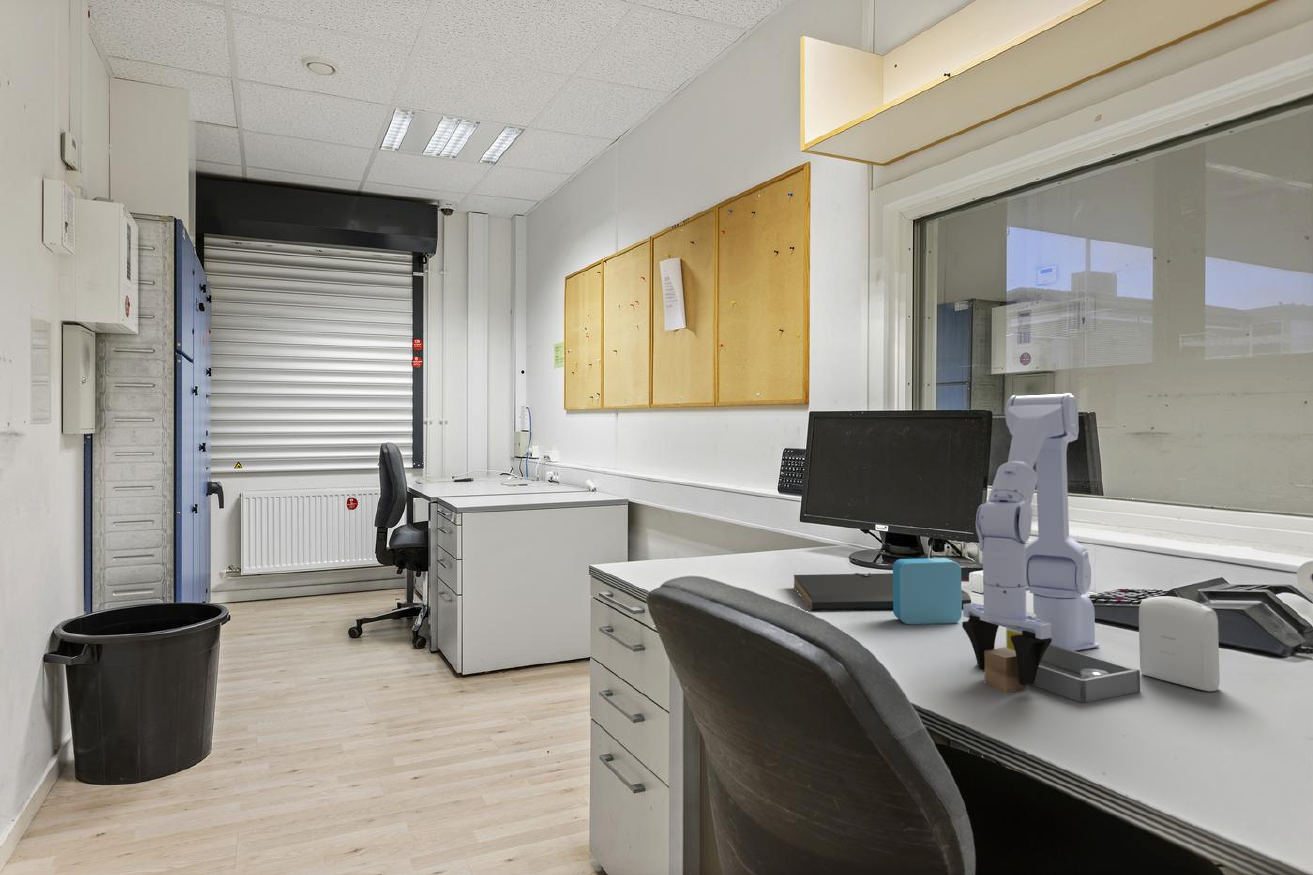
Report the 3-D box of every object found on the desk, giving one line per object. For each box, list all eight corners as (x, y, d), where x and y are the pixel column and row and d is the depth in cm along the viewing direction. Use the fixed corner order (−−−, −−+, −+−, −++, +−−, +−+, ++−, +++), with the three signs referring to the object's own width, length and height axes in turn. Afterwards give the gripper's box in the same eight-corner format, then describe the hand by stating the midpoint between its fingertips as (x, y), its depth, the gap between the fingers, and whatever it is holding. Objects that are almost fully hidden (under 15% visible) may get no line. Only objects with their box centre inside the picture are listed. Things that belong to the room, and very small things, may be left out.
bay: (1029, 655, 128) (1029, 637, 128) (1140, 691, 110) (1139, 670, 110) (977, 664, 124) (976, 645, 124) (1082, 703, 106) (1082, 681, 106)
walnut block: (1005, 680, 116) (1004, 647, 116) (1027, 688, 112) (1026, 654, 112) (984, 684, 114) (984, 650, 114) (1006, 692, 111) (1005, 657, 111)
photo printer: (1134, 674, 117) (1133, 593, 117) (1152, 670, 119) (1150, 590, 119) (1207, 694, 108) (1206, 606, 108) (1225, 689, 110) (1224, 603, 110)
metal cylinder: (1092, 686, 113) (1092, 667, 113) (1115, 694, 109) (1115, 674, 109) (1075, 690, 111) (1074, 670, 111) (1097, 697, 108) (1097, 677, 108)
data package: (952, 617, 154) (951, 557, 154) (962, 623, 150) (961, 561, 149) (893, 619, 154) (892, 559, 154) (900, 624, 149) (899, 562, 149)
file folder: (931, 570, 185) (971, 593, 161) (931, 588, 185) (971, 613, 161) (793, 573, 185) (812, 596, 161) (793, 590, 185) (812, 615, 161)
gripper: (947, 577, 118) (948, 665, 118) (1023, 595, 105) (1025, 695, 105) (982, 573, 121) (984, 660, 121) (1062, 590, 107) (1063, 688, 108)
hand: (1005, 676), depth 113 cm, fingers open, 7 cm apart
